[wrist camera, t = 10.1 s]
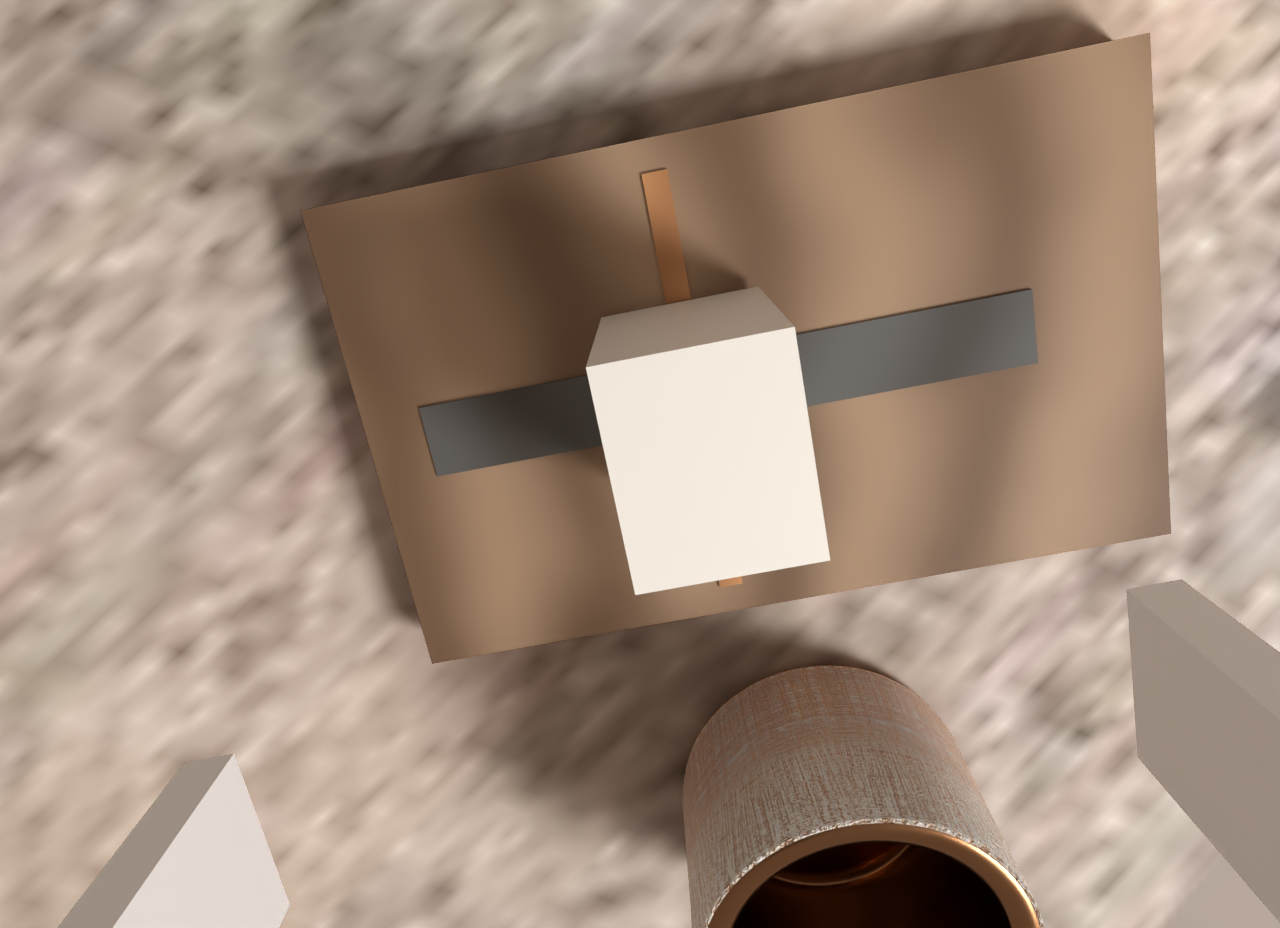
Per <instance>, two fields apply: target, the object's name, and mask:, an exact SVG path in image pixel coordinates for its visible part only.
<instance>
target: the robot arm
mask: <svg viewBox="0 0 1280 928" xmlns="http://www.w3.org/2000/svg"><path fill="white" fill-rule="evenodd" d="M1127 603H1128V618H1129V633H1130V648H1131V663H1132V679H1133V694H1134V709H1135V724H1136V740H1137V755H1138V758H1139V759H1140V760H1141V761H1142V763H1143V764H1144V765H1145V766H1146V767H1147V768H1148V770H1149V771H1150V772H1151V773H1152V774H1153V775H1154V777H1155V778H1156V779H1157V780H1158V781H1159V782H1160V784H1161V785H1162V786H1163V787H1164V788H1165V789H1166V791H1167V792H1168V793H1169V794H1170V795H1171V796H1172V798H1173V799H1174V800H1175V801H1176V802H1177V803H1178V805H1179V806H1180V807H1181V808H1182V809H1183V810H1184V812H1185V813H1186V814H1187V815H1188V816H1189V817H1190V819H1191V820H1192V821H1193V822H1194V823H1195V824H1196V826H1197V827H1198V828H1199V829H1200V830H1201V831H1202V833H1203V834H1204V835H1205V836H1206V837H1207V838H1208V840H1209V841H1210V842H1211V843H1212V844H1213V845H1214V847H1215V848H1216V849H1217V850H1218V851H1219V852H1220V854H1221V855H1222V856H1223V857H1224V858H1225V859H1226V860H1227V862H1228V863H1229V864H1230V865H1231V866H1232V867H1233V868H1234V870H1235V871H1236V872H1237V873H1238V874H1239V876H1240V877H1241V878H1242V879H1243V880H1244V881H1245V882H1246V884H1247V885H1248V886H1249V887H1250V888H1251V890H1252V891H1253V892H1254V893H1255V894H1256V895H1257V897H1258V898H1259V899H1260V900H1261V901H1262V902H1263V904H1264V905H1265V906H1266V907H1267V908H1268V909H1269V911H1270V912H1271V913H1272V914H1273V915H1274V916H1275V918H1276V919H1277V920H1278V921H1279V922H1280V652H1278V651H1277V650H1276V649H1274V648H1273V647H1272V646H1270V645H1269V644H1268V643H1266V642H1265V641H1264V640H1262V639H1261V638H1260V637H1258V636H1257V635H1256V634H1254V633H1253V632H1252V631H1250V630H1249V629H1247V628H1246V627H1245V626H1243V625H1242V624H1241V623H1239V622H1238V621H1237V620H1235V619H1234V618H1233V617H1231V616H1230V615H1229V614H1227V613H1226V612H1225V611H1223V610H1222V609H1221V608H1219V607H1218V606H1217V605H1215V604H1214V603H1213V602H1211V601H1210V600H1209V599H1207V598H1206V597H1205V596H1203V595H1202V594H1200V593H1199V592H1198V591H1196V590H1195V589H1194V588H1192V587H1191V586H1190V585H1188V584H1187V583H1186V582H1184V581H1183V580H1176V581H1171V582H1165V583H1160V584H1154V585H1149V586H1143V587H1138V588H1133V589H1127ZM289 906H290V904H289V901H288V898H287V896H286V893H285V890H284V888H283V885H282V882H281V880H280V877H279V874H278V871H277V869H276V866H275V863H274V861H273V858H272V855H271V853H270V850H269V847H268V844H267V842H266V839H265V836H264V834H263V831H262V828H261V826H260V823H259V820H258V817H257V815H256V812H255V809H254V807H253V804H252V801H251V799H250V796H249V793H248V790H247V788H246V785H245V782H244V780H243V777H242V774H241V772H240V769H239V766H238V764H237V761H236V758H235V755H234V754H229V755H224V756H218V757H213V758H207V759H202V760H197V761H191V762H186V763H184V764H183V765H182V767H181V768H180V769H179V770H178V772H177V773H176V774H175V776H174V777H173V778H172V780H171V781H170V782H169V783H168V785H167V786H166V787H165V789H164V790H163V791H162V793H161V794H160V795H159V796H158V798H157V799H156V800H155V802H154V803H153V804H152V806H151V807H150V808H149V809H148V811H147V812H146V813H145V815H144V816H143V817H142V819H141V820H140V821H139V822H138V824H137V825H136V826H135V828H134V829H133V830H132V832H131V833H130V834H129V835H128V837H127V838H126V839H125V841H124V842H123V843H122V845H121V846H120V847H119V848H118V850H117V851H116V852H115V854H114V855H113V856H112V858H111V859H110V860H109V861H108V863H107V864H106V865H105V867H104V868H103V869H102V871H101V872H100V873H99V874H98V876H97V877H96V878H95V880H94V881H93V882H92V884H91V885H90V886H89V887H88V889H87V890H86V891H85V893H84V894H83V895H82V897H81V898H80V899H79V900H78V902H77V903H76V904H75V906H74V907H73V908H72V910H71V911H70V912H69V913H68V915H67V916H66V917H65V919H64V920H63V921H62V923H61V924H60V925H59V926H58V928H279V927H280V924H281V922H282V920H283V918H284V916H285V914H286V912H287V910H288V908H289Z"/></svg>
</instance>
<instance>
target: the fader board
mask: <svg viewBox="0 0 1280 928" xmlns="http://www.w3.org/2000/svg"><path fill="white" fill-rule="evenodd" d="M301 213H302V217H303V220H304V224H305V227H306V231H307V234H308V238H309V241H310V244H311V248H312V251H313V255H314V258H315V262H316V265H317V269H318V272H319V275H320V279H321V282H322V286H323V289H324V293H325V296H326V300H327V303H328V306H329V310H330V313H331V317H332V320H333V324H334V327H335V331H336V334H337V337H338V341H339V344H340V348H341V351H342V355H343V358H344V362H345V365H346V368H347V372H348V375H349V379H350V382H351V386H352V389H353V393H354V396H355V399H356V403H357V406H358V410H359V413H360V417H361V420H362V424H363V427H364V430H365V434H366V437H367V441H368V444H369V448H370V451H371V455H372V458H373V461H374V465H375V468H376V472H377V475H378V479H379V482H380V485H381V489H382V492H383V496H384V499H385V503H386V506H387V510H388V513H389V516H390V520H391V523H392V527H393V530H394V534H395V537H396V541H397V544H398V547H399V551H400V554H401V558H402V561H403V565H404V568H405V572H406V575H407V578H408V582H409V585H410V589H411V592H412V596H413V599H414V603H415V606H416V609H417V613H418V616H419V620H420V623H421V627H422V630H423V634H424V637H425V640H426V644H427V647H428V651H429V654H430V658H431V661H432V664H433V663H438V662H444V661H450V660H455V659H461V658H467V657H472V656H478V655H484V654H489V653H495V652H501V651H507V650H512V649H518V648H524V647H529V646H535V645H541V644H546V643H552V642H558V641H563V640H569V639H575V638H580V637H586V636H592V635H597V634H603V633H609V632H614V631H620V630H626V629H631V628H637V627H643V626H649V625H654V624H660V623H666V622H671V621H677V620H683V619H688V618H694V617H700V616H705V615H711V614H717V613H722V612H728V611H734V610H739V609H745V608H751V607H756V606H762V605H768V604H774V603H779V602H785V601H791V600H796V599H802V598H808V597H813V596H819V595H825V594H830V593H836V592H842V591H847V590H853V589H859V588H864V587H870V586H876V585H881V584H887V583H893V582H899V581H904V580H910V579H916V578H921V577H927V576H933V575H938V574H944V573H950V572H955V571H961V570H967V569H972V568H978V567H984V566H989V565H995V564H1001V563H1006V562H1012V561H1018V560H1023V559H1029V558H1035V557H1041V556H1046V555H1052V554H1058V553H1063V552H1069V551H1075V550H1080V549H1086V548H1092V547H1097V546H1103V545H1109V544H1114V543H1120V542H1126V541H1131V540H1137V539H1143V538H1148V537H1154V536H1160V535H1166V534H1171V522H1170V499H1169V475H1168V451H1167V427H1166V403H1165V380H1164V356H1163V332H1162V308H1161V284H1160V260H1159V236H1158V213H1157V189H1156V165H1155V141H1154V117H1153V93H1152V70H1151V46H1150V33H1147V34H1142V35H1137V36H1132V37H1127V38H1123V39H1118V40H1113V41H1108V42H1104V43H1099V44H1094V45H1089V46H1084V47H1080V48H1075V49H1070V50H1065V51H1061V52H1056V53H1051V54H1046V55H1041V56H1037V57H1032V58H1027V59H1022V60H1018V61H1013V62H1008V63H1003V64H998V65H994V66H989V67H984V68H979V69H975V70H970V71H965V72H960V73H955V74H951V75H946V76H941V77H936V78H932V79H927V80H922V81H917V82H912V83H908V84H903V85H898V86H893V87H888V88H884V89H879V90H874V91H869V92H865V93H860V94H855V95H850V96H845V97H841V98H836V99H831V100H826V101H822V102H817V103H812V104H807V105H802V106H798V107H793V108H788V109H783V110H779V111H774V112H769V113H764V114H759V115H755V116H750V117H745V118H740V119H736V120H731V121H726V122H721V123H716V124H712V125H707V126H702V127H697V128H693V129H688V130H683V131H678V132H673V133H669V134H664V135H659V136H654V137H650V138H645V139H640V140H635V141H630V142H626V143H621V144H616V145H611V146H607V147H602V148H597V149H592V150H587V151H583V152H578V153H573V154H568V155H563V156H559V157H554V158H549V159H544V160H540V161H535V162H530V163H525V164H520V165H516V166H511V167H506V168H501V169H497V170H492V171H487V172H482V173H477V174H473V175H468V176H463V177H458V178H454V179H449V180H444V181H439V182H434V183H430V184H425V185H420V186H415V187H411V188H406V189H401V190H396V191H391V192H387V193H382V194H377V195H372V196H368V197H363V198H358V199H353V200H348V201H344V202H339V203H334V204H329V205H325V206H320V207H315V208H310V209H305V210H301ZM757 286H758V287H759V288H760V289H761V290H762V291H763V292H764V294H765V295H766V296H767V297H768V298H769V299H770V300H771V301H772V302H773V303H774V305H775V306H776V307H777V308H778V309H779V310H780V311H781V312H782V313H783V314H784V315H785V317H786V318H787V319H788V320H789V321H790V322H791V323H792V324H793V325H794V326H795V331H796V338H797V345H798V351H799V358H800V364H801V371H802V377H803V384H804V390H805V397H806V404H807V410H808V417H809V423H810V430H811V436H812V443H813V450H814V456H815V463H816V469H817V476H818V482H819V489H820V496H821V502H822V509H823V515H824V522H825V528H826V535H827V542H828V548H829V555H830V561H824V562H819V563H813V564H807V565H802V566H796V567H791V568H785V569H779V570H774V571H768V572H763V573H757V574H751V575H746V576H740V577H735V578H729V579H723V580H718V581H712V582H707V583H701V584H695V585H690V586H684V587H678V588H673V589H667V590H662V591H656V592H650V593H645V594H639V595H635V592H634V587H633V582H632V578H631V573H630V569H629V564H628V559H627V555H626V550H625V546H624V541H623V536H622V532H621V527H620V523H619V518H618V513H617V509H616V504H615V500H614V495H613V490H612V486H611V481H610V477H609V472H608V468H607V463H606V458H605V454H604V449H603V445H602V440H601V435H600V431H599V426H598V422H597V417H596V412H595V408H594V403H593V399H592V394H591V389H590V385H589V380H588V376H587V371H586V365H587V362H588V359H589V355H590V352H591V349H592V346H593V343H594V339H595V336H596V333H597V330H598V327H599V323H600V320H601V317H606V316H611V315H616V314H621V313H626V312H631V311H636V310H641V309H646V308H651V307H656V306H661V305H666V304H671V303H677V302H682V301H687V300H692V299H697V298H702V297H707V296H712V295H717V294H722V293H727V292H732V291H737V290H742V289H747V288H752V287H757Z"/></svg>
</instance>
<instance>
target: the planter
mask: <svg viewBox="0 0 1280 928" xmlns="http://www.w3.org/2000/svg"><path fill="white" fill-rule="evenodd" d="M683 816H684V829H685V841H686V853H687V865H688V877H689V890H690V903H691V917H692V928H1044V925H1043V921H1042V917H1041V914H1040V912H1039V909H1038V906H1037V904H1036V901H1035V899H1034V897H1033V895H1032V893H1031V891H1030V889H1029V887H1028V885H1027V883H1026V881H1025V880H1024V878H1023V876H1022V874H1021V872H1020V870H1019V868H1018V866H1017V864H1016V862H1015V860H1014V858H1013V857H1012V855H1011V853H1010V851H1009V849H1008V847H1007V845H1006V843H1005V841H1004V839H1003V837H1002V835H1001V833H1000V831H999V829H998V827H997V825H996V823H995V821H994V819H993V817H992V815H991V813H990V811H989V809H988V807H987V805H986V803H985V801H984V799H983V797H982V795H981V793H980V791H979V789H978V787H977V785H976V783H975V781H974V779H973V777H972V775H971V773H970V771H969V769H968V767H967V765H966V763H965V761H964V759H963V757H962V755H961V753H960V751H959V749H958V747H957V745H956V743H955V741H954V739H953V737H952V735H951V734H950V732H949V731H948V729H947V727H946V726H945V724H944V723H943V722H942V720H941V719H940V718H939V717H938V716H937V714H936V713H935V712H934V711H933V710H932V709H931V708H930V707H929V705H928V704H926V703H925V702H924V701H923V700H922V699H921V698H920V697H919V696H918V695H916V694H915V693H914V692H913V691H911V690H910V689H908V688H907V687H905V686H903V685H902V684H900V683H898V682H896V681H894V680H892V679H890V678H888V677H886V676H883V675H881V674H878V673H875V672H872V671H868V670H864V669H859V668H855V667H848V666H838V665H818V666H807V667H800V668H795V669H790V670H786V671H783V672H779V673H776V674H774V675H771V676H768V677H766V678H764V679H761V680H759V681H757V682H755V683H753V684H751V685H749V686H747V687H746V688H744V689H743V690H741V691H740V692H738V693H737V694H735V695H734V696H733V697H732V698H730V699H729V700H728V701H727V702H725V703H724V704H723V705H722V706H721V707H720V708H719V709H718V710H717V711H716V712H715V713H714V714H713V715H712V717H711V718H710V719H709V720H708V721H707V723H706V724H705V726H704V727H703V729H702V730H701V732H700V733H699V735H698V737H697V739H696V741H695V743H694V745H693V747H692V749H691V752H690V755H689V758H688V762H687V766H686V771H685V776H684V782H683Z"/></svg>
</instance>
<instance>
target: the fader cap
mask: <svg viewBox="0 0 1280 928" xmlns="http://www.w3.org/2000/svg"><path fill="white" fill-rule="evenodd" d="M586 371H587V376H588V380H589V385H590V389H591V394H592V399H593V403H594V408H595V412H596V417H597V422H598V426H599V431H600V435H601V440H602V445H603V449H604V454H605V458H606V463H607V468H608V472H609V477H610V481H611V486H612V490H613V495H614V500H615V504H616V509H617V513H618V518H619V523H620V527H621V532H622V536H623V541H624V546H625V550H626V555H627V559H628V564H629V569H630V573H631V578H632V582H633V587H634V592H635V595H639V594H645V593H650V592H656V591H662V590H667V589H673V588H678V587H684V586H690V585H695V584H701V583H707V582H712V581H718V580H723V579H729V578H735V577H740V576H746V575H751V574H757V573H763V572H768V571H774V570H779V569H785V568H791V567H796V566H802V565H807V564H813V563H819V562H824V561H830V555H829V548H828V542H827V535H826V528H825V522H824V515H823V509H822V502H821V496H820V489H819V482H818V476H817V469H816V463H815V456H814V450H813V443H812V436H811V430H810V423H809V417H808V410H807V404H806V397H805V390H804V384H803V377H802V371H801V364H800V358H799V351H798V345H797V338H796V331H795V326H794V325H793V324H792V323H791V322H790V321H789V320H788V319H787V318H786V317H785V315H784V314H783V313H782V312H781V311H780V310H779V309H778V308H777V307H776V306H775V305H774V303H773V302H772V301H771V300H770V299H769V298H768V297H767V296H766V295H765V294H764V292H763V291H762V290H761V289H760V288H759V287H758V286H757V287H752V288H747V289H742V290H737V291H732V292H727V293H722V294H717V295H712V296H707V297H702V298H697V299H692V300H687V301H682V302H677V303H671V304H666V305H661V306H656V307H651V308H646V309H641V310H636V311H631V312H626V313H621V314H616V315H611V316H606V317H601V320H600V323H599V327H598V330H597V333H596V336H595V339H594V343H593V346H592V349H591V352H590V355H589V359H588V362H587V365H586Z"/></svg>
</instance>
